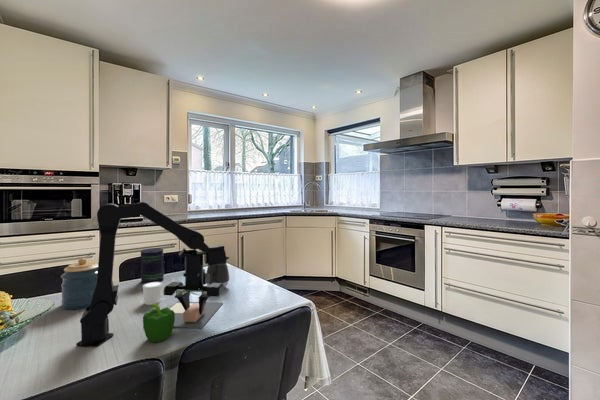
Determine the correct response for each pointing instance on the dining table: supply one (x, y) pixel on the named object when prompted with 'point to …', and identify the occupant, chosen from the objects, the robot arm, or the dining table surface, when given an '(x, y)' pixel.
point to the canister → (79, 284)
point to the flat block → (192, 313)
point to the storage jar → (152, 265)
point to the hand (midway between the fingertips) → (194, 314)
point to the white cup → (152, 292)
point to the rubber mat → (200, 323)
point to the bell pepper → (158, 323)
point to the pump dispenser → (218, 274)
